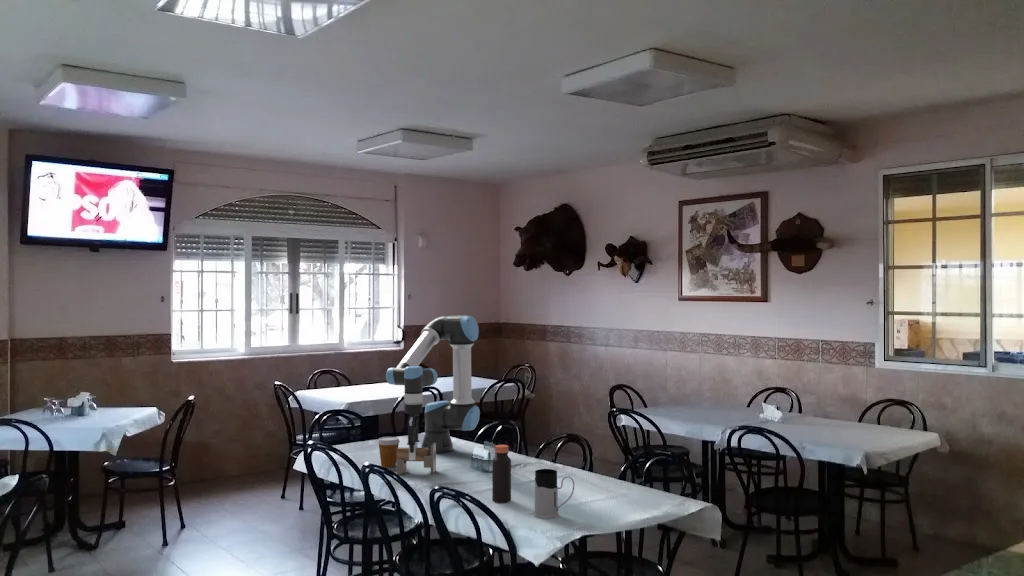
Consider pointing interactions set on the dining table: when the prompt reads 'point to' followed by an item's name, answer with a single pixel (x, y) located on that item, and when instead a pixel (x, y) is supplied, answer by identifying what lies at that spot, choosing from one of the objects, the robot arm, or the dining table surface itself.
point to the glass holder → (547, 494)
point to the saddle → (401, 466)
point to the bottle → (501, 475)
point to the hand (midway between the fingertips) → (413, 458)
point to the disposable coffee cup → (388, 451)
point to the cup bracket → (431, 459)
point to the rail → (404, 453)
